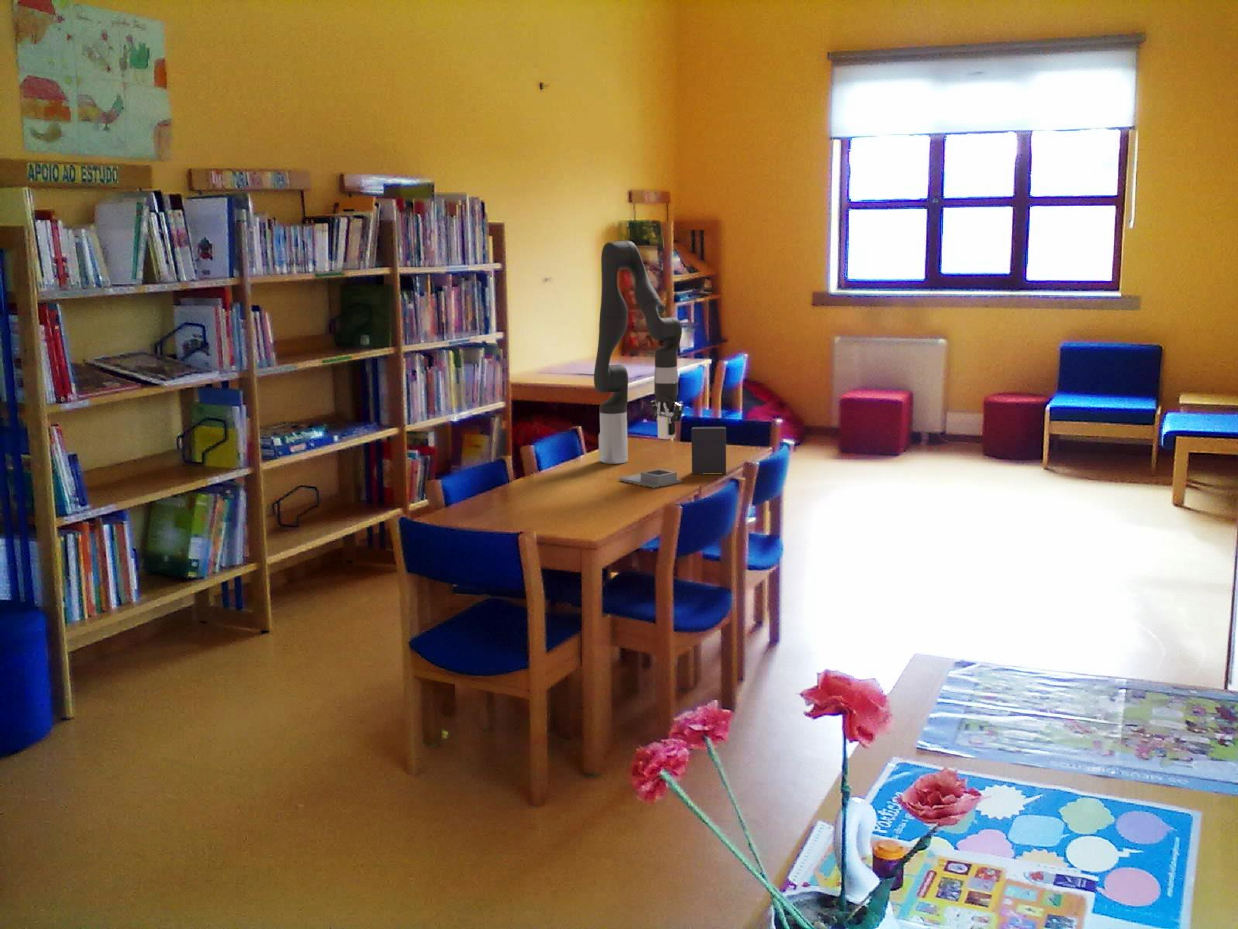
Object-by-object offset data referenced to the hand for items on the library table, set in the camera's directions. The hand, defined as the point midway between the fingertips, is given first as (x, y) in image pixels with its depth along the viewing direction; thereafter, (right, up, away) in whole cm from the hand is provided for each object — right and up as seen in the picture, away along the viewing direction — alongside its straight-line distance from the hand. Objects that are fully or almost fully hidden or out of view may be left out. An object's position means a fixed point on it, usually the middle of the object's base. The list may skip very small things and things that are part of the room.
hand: (666, 433), depth 385 cm
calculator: (+14, -13, +3) cm, 19 cm away
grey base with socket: (-5, -15, -8) cm, 18 cm away
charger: (0, -1, 0) cm, 1 cm away
